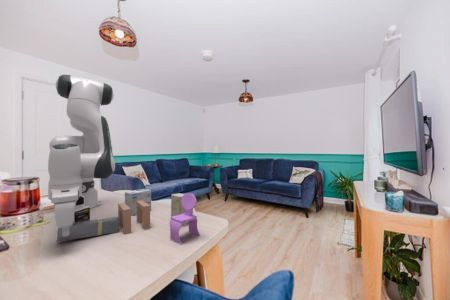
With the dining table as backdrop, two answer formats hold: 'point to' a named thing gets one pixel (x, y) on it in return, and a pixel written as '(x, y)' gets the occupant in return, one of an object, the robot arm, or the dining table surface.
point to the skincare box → (177, 205)
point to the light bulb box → (137, 198)
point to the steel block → (90, 228)
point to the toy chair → (184, 218)
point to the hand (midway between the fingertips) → (66, 232)
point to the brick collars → (141, 215)
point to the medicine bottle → (81, 211)
